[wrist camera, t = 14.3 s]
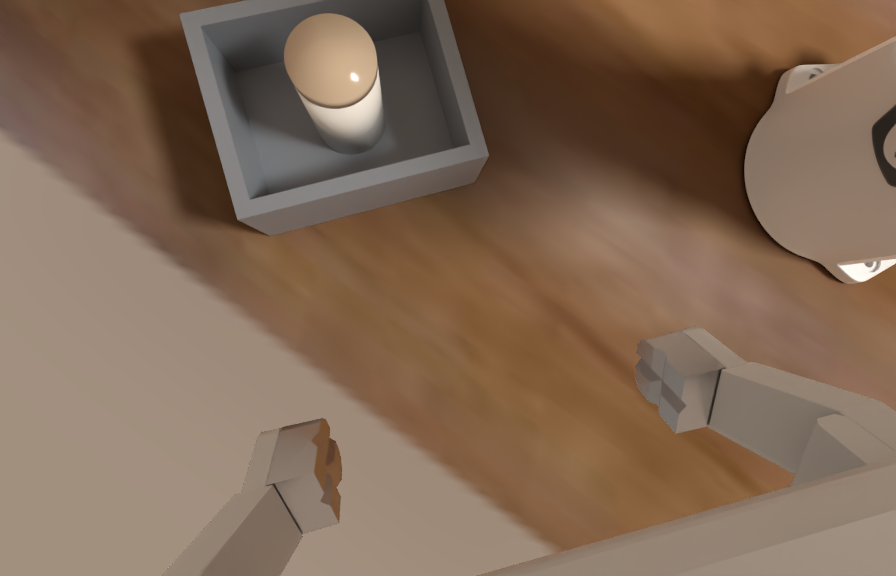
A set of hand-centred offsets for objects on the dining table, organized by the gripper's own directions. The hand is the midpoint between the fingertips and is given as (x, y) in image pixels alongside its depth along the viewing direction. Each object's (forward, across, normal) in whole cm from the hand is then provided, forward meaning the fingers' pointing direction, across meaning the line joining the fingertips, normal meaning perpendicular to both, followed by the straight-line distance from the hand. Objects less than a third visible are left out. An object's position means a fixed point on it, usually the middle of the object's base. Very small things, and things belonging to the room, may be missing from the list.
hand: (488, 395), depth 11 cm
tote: (+27, +3, -4) cm, 27 cm away
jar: (+26, +3, -4) cm, 27 cm away
